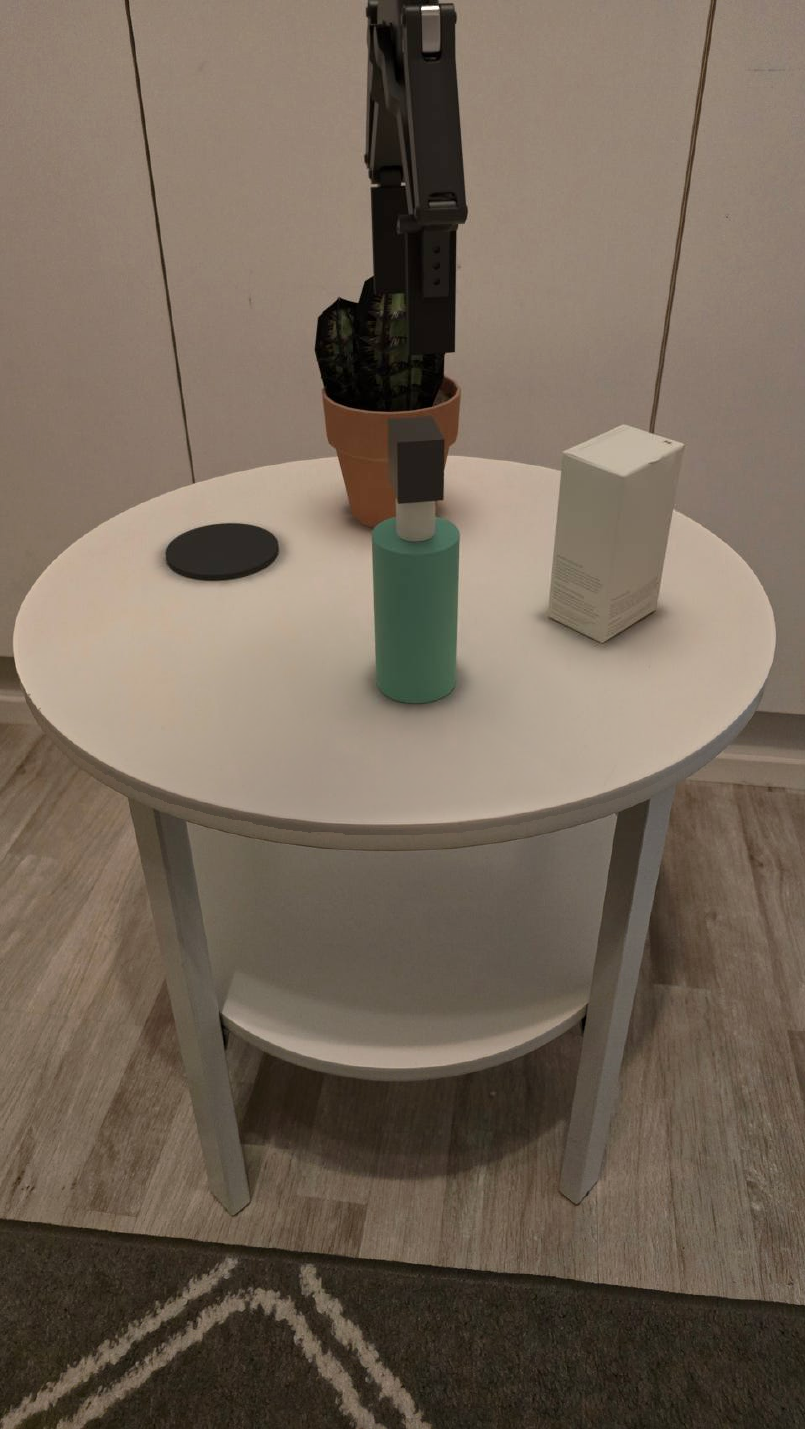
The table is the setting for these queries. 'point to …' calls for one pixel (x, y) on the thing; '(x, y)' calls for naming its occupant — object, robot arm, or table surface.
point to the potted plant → (376, 393)
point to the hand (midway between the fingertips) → (411, 320)
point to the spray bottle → (415, 571)
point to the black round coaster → (222, 551)
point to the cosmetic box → (612, 530)
